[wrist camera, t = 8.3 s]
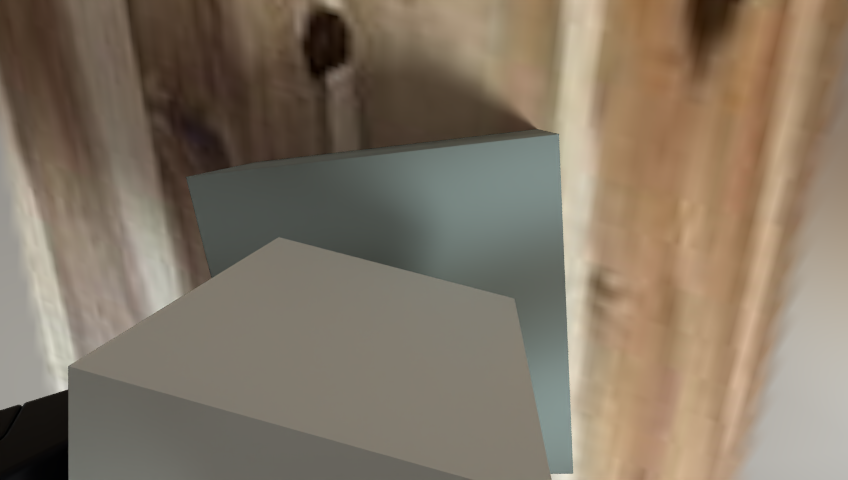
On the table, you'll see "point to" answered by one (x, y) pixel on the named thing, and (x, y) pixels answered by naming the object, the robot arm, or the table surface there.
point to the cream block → (311, 380)
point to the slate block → (422, 231)
